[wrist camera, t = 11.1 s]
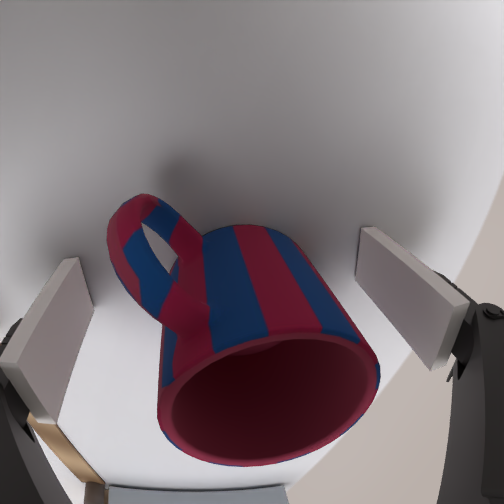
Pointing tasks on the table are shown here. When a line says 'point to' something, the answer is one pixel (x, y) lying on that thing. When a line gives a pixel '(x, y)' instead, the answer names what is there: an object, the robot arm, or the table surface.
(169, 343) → the mug
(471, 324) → the robot arm
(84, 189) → the table surface
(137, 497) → the door
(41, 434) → the doorframe
